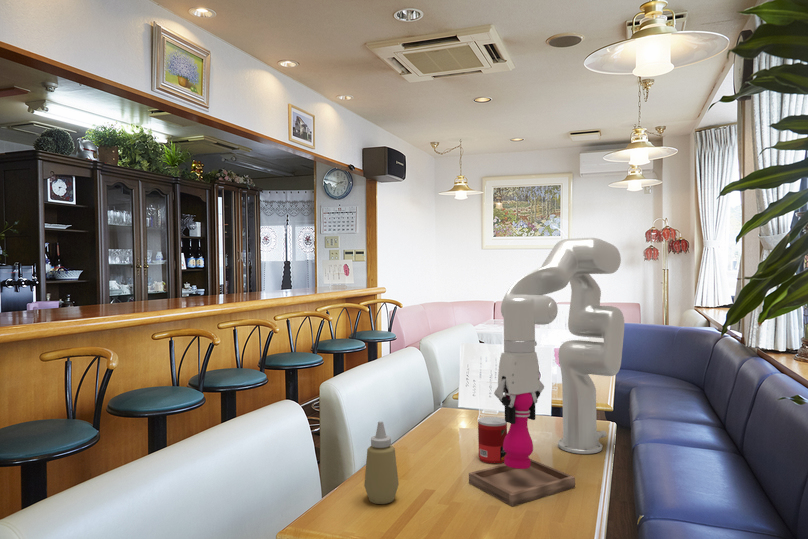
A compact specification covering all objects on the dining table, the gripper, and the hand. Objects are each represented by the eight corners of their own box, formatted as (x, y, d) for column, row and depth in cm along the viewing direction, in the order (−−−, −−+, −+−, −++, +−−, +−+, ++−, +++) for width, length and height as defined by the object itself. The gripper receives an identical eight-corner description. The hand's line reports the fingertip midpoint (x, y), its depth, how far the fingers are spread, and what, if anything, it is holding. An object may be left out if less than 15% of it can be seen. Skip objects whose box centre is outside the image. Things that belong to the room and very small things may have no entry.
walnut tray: (528, 467, 147) (528, 458, 147) (575, 487, 133) (575, 477, 133) (468, 483, 137) (468, 473, 137) (512, 506, 123) (512, 495, 123)
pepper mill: (535, 463, 136) (538, 382, 137) (528, 471, 130) (532, 386, 130) (506, 458, 139) (510, 379, 140) (498, 466, 133) (502, 382, 133)
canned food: (507, 465, 149) (506, 424, 149) (477, 463, 151) (477, 423, 151) (507, 455, 157) (507, 417, 157) (479, 454, 158) (478, 415, 158)
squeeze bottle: (386, 510, 122) (385, 429, 122) (357, 502, 126) (356, 424, 126) (405, 496, 129) (404, 420, 129) (377, 490, 133) (376, 415, 133)
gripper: (534, 342, 143) (535, 412, 143) (482, 348, 134) (482, 422, 134) (556, 346, 136) (556, 419, 136) (502, 351, 127) (503, 429, 127)
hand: (520, 419), depth 135 cm, fingers closed on pepper mill, 5 cm apart
